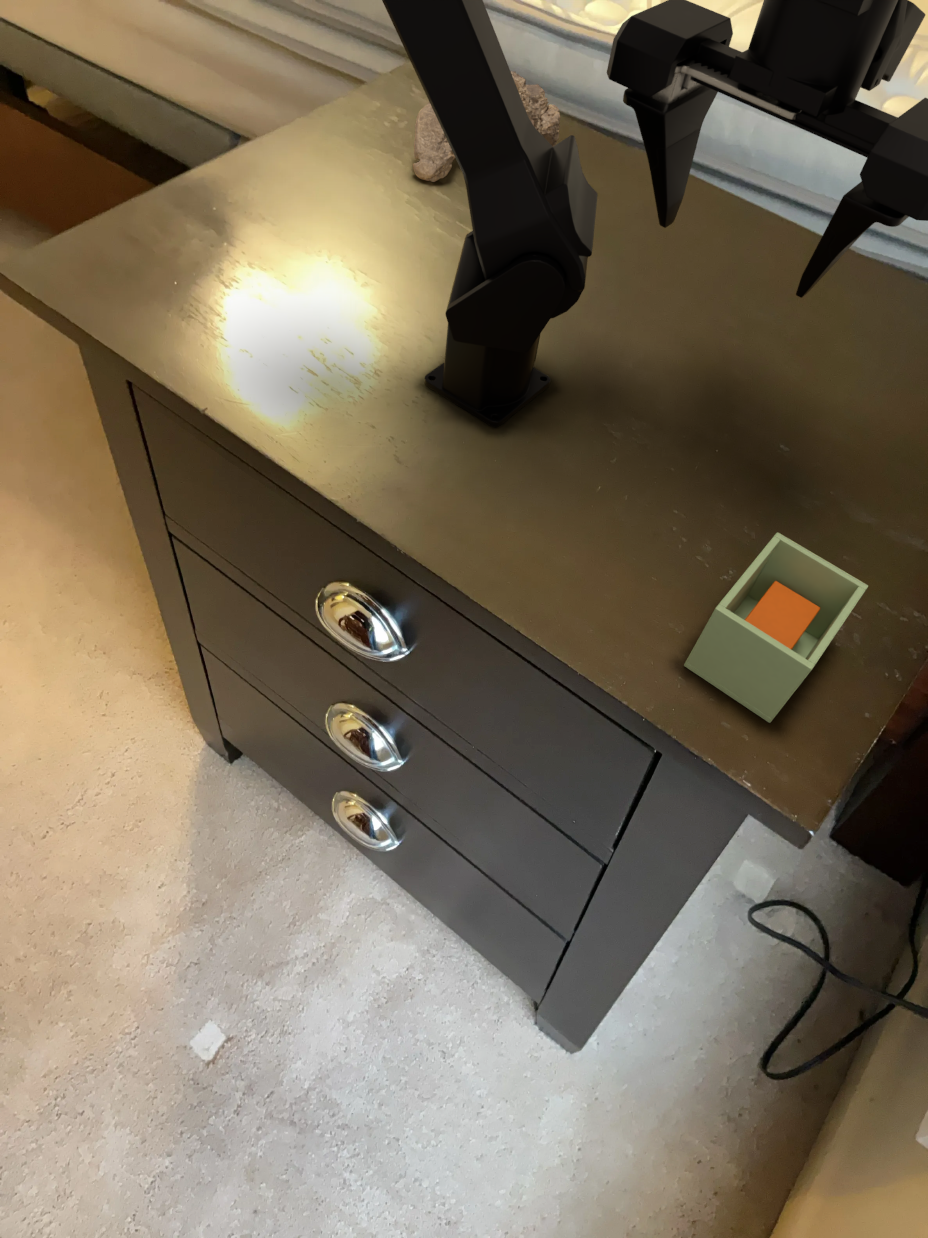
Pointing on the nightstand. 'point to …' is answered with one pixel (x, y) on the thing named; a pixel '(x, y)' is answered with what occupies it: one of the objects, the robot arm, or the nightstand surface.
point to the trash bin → (752, 657)
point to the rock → (438, 151)
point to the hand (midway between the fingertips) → (732, 257)
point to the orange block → (783, 614)
